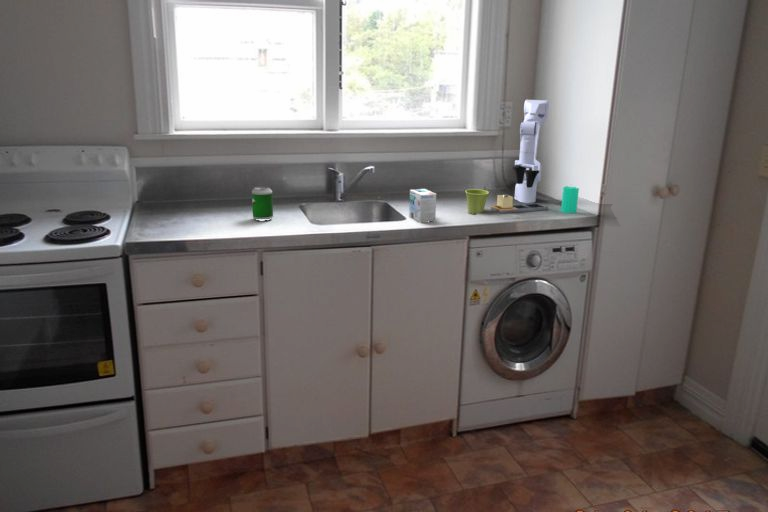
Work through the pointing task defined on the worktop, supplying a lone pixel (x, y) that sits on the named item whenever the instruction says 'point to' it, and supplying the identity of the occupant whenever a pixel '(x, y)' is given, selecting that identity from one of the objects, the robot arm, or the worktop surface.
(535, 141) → the robot arm
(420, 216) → the light bulb box
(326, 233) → the worktop surface
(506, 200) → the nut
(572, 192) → the candle
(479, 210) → the plant pot
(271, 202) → the soda can
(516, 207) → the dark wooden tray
